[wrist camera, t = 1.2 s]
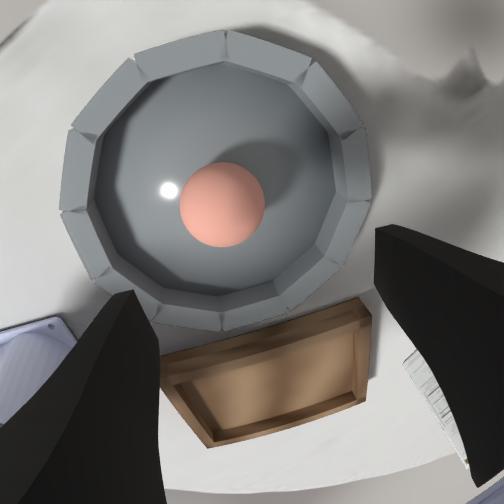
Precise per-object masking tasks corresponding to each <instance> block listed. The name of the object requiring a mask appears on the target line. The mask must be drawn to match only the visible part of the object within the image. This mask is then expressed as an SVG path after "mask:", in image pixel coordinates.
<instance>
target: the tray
mask: <svg viewBox="0 0 504 504" xmlns="http://www.w3.org/2000/svg"><path fill="white" fill-rule="evenodd" d="M371 325H372V315H371V313H370V312H369V310H368V309H367V308H366V306H365V305H364V304H363V302H362V301H361V300H360V298H356V299H353V300H350V301H347V302H344V303H342V304H339V305H336V306H333V307H330V308H327V309H324V310H321V311H318V312H315V313H312V314H309V315H306V316H303V317H300V318H296V319H293V320H290V321H287V322H284V323H280V324H277V325H274V326H271V327H267V328H264V329H261V330H257V331H254V332H250V333H247V334H243V335H240V336H236V337H233V338H229V339H226V340H222V341H218V342H215V343H211V344H207V345H203V346H199V347H195V348H192V349H188V350H184V351H180V352H176V353H171V354H167V355H163V356H160V388H161V390H162V391H163V392H164V394H165V395H166V396H167V398H168V399H169V401H170V402H171V403H172V405H173V406H174V407H175V409H176V410H177V411H178V413H179V414H180V415H181V416H182V418H183V419H184V420H185V422H186V423H187V424H188V425H189V427H190V428H191V429H192V430H193V432H194V433H195V434H196V435H197V437H198V438H199V439H200V440H201V441H202V443H203V444H204V445H205V446H206V447H207V449H208V448H213V447H218V446H223V445H227V444H232V443H236V442H240V441H245V440H249V439H253V438H257V437H260V436H264V435H268V434H272V433H275V432H279V431H282V430H285V429H289V428H292V427H295V426H299V425H302V424H305V423H308V422H311V421H314V420H317V419H320V418H323V417H325V416H328V415H331V414H334V413H337V412H339V411H342V410H345V409H347V408H350V407H352V406H355V405H357V404H360V403H362V402H365V401H366V393H367V383H368V372H369V359H370V344H371Z"/></svg>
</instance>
